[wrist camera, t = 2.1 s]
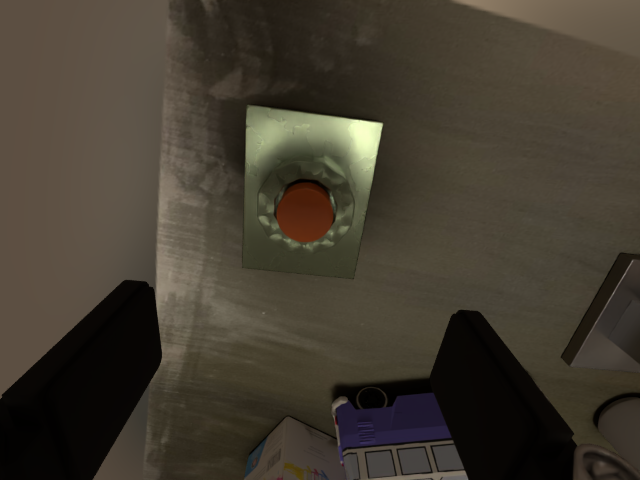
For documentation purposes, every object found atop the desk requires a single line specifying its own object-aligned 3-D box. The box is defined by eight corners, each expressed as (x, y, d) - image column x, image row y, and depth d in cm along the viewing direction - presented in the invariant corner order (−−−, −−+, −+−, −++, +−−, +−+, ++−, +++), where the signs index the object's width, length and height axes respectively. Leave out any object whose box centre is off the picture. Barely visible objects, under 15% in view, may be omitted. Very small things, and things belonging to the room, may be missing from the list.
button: (281, 179, 20) (278, 185, 19) (335, 185, 21) (337, 192, 19) (277, 229, 22) (274, 239, 20) (328, 235, 22) (329, 245, 20)
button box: (252, 103, 22) (239, 104, 18) (378, 120, 22) (390, 124, 19) (247, 255, 27) (236, 280, 23) (351, 266, 27) (356, 291, 24)
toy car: (524, 423, 36) (596, 533, 27) (337, 441, 37) (344, 554, 27) (537, 361, 32) (626, 465, 23) (328, 383, 33) (333, 491, 24)
